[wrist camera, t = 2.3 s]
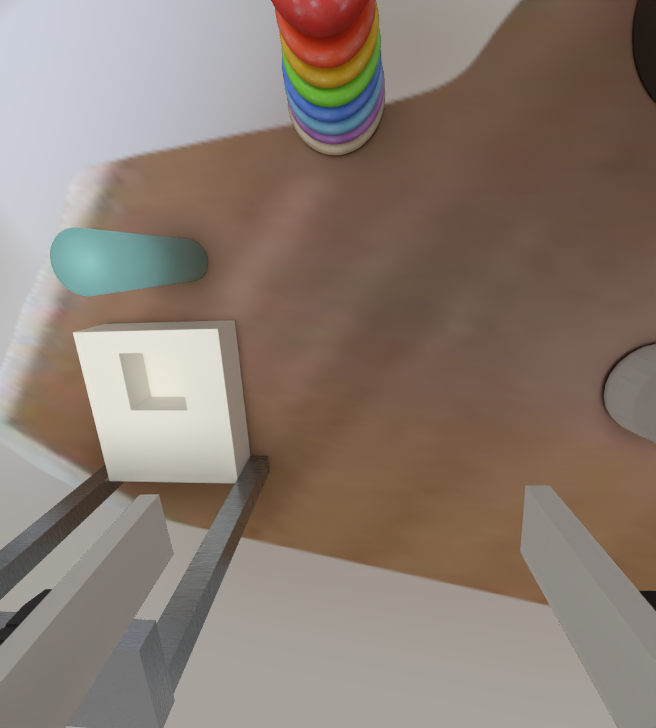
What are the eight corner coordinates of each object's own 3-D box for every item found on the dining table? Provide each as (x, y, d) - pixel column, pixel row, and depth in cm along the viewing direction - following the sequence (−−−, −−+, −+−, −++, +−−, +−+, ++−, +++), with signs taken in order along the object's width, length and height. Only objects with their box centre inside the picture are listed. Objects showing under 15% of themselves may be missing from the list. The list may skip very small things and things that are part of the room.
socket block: (105, 323, 38) (72, 332, 34) (234, 320, 36) (217, 328, 32) (135, 458, 42) (109, 481, 38) (250, 459, 41) (237, 483, 37)
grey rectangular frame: (111, 427, 41) (-183, 629, 19) (264, 427, 40) (138, 650, 17) (122, 472, 43) (-137, 707, 21) (269, 475, 41) (160, 734, 19)
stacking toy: (286, 152, 32) (188, 17, 14) (295, 42, 29) (192, -292, 11) (375, 163, 31) (393, 39, 13) (392, 52, 29) (441, -276, 11)
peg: (165, 239, 35) (42, 229, 21) (204, 237, 34) (105, 225, 21) (171, 282, 36) (59, 297, 23) (210, 280, 36) (119, 295, 22)
